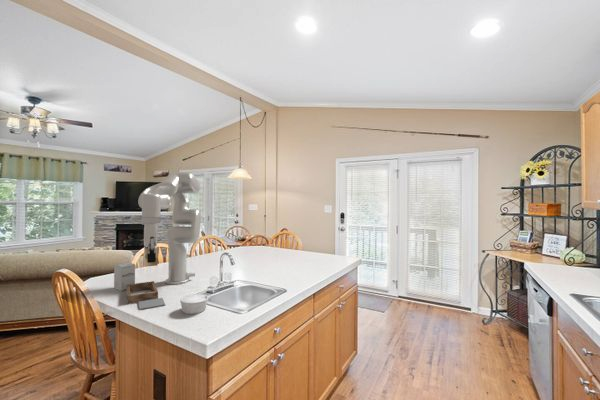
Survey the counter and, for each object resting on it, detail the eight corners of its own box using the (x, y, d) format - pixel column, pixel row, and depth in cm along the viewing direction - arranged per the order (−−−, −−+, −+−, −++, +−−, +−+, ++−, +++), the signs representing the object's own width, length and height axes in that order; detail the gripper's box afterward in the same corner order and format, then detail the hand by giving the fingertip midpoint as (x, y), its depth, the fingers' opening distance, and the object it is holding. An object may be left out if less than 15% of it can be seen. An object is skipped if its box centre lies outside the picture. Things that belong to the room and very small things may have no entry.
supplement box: (120, 290, 149) (121, 266, 149) (113, 288, 153) (113, 264, 153) (135, 287, 155) (135, 263, 155) (128, 284, 159) (128, 262, 159)
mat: (162, 298, 138) (162, 297, 138) (165, 305, 129) (165, 304, 129) (138, 302, 132) (138, 301, 132) (139, 310, 124) (139, 308, 124)
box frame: (153, 287, 155) (153, 281, 155) (158, 299, 137) (158, 291, 137) (126, 291, 148) (126, 284, 148) (127, 304, 131) (127, 296, 131)
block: (156, 263, 134) (156, 246, 134) (157, 265, 130) (157, 247, 130) (144, 264, 132) (144, 246, 132) (144, 266, 127) (145, 248, 127)
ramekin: (206, 314, 120) (206, 301, 120) (177, 316, 118) (177, 303, 118) (209, 304, 131) (209, 293, 131) (182, 306, 129) (182, 294, 128)
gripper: (140, 220, 136) (140, 258, 136) (142, 222, 122) (142, 265, 122) (158, 219, 140) (158, 257, 140) (162, 221, 126) (162, 263, 125)
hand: (151, 260), depth 131 cm, fingers closed on block, 5 cm apart
